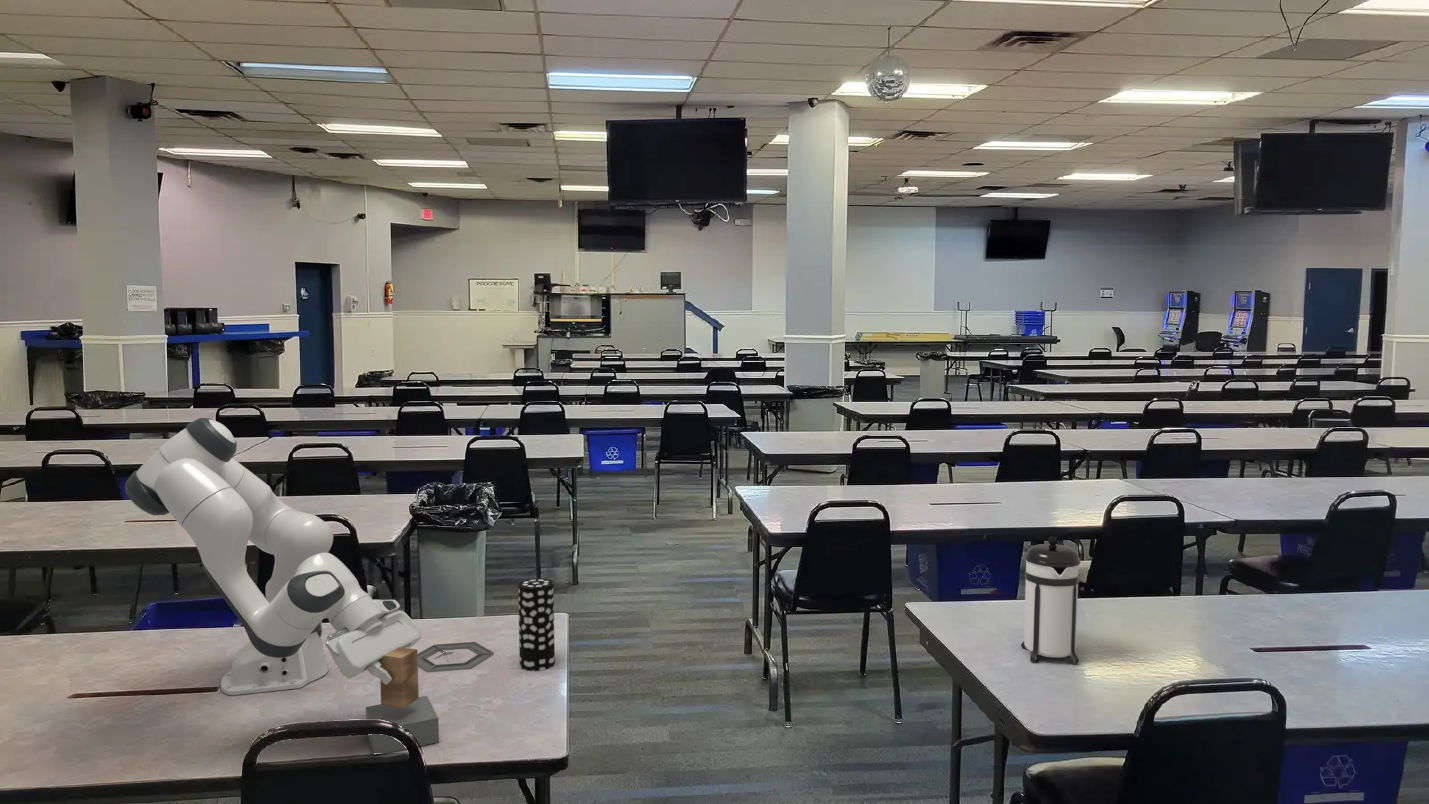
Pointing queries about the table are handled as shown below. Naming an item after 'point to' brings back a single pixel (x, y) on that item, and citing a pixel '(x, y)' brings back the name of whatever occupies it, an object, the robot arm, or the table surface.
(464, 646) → the grey hexagonal ring
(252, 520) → the robot arm
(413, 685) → the oak block
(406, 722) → the block
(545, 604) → the spotted tube
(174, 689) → the table surface
